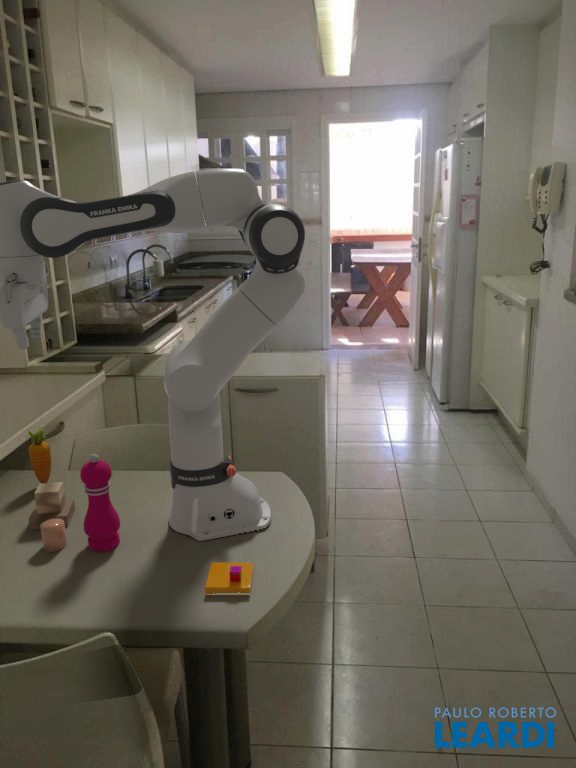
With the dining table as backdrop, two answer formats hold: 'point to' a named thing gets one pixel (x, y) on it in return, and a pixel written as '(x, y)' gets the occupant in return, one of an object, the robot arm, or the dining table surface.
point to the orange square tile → (229, 578)
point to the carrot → (40, 457)
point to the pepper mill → (99, 506)
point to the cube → (50, 497)
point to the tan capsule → (53, 535)
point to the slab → (53, 515)
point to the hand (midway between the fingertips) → (30, 342)
